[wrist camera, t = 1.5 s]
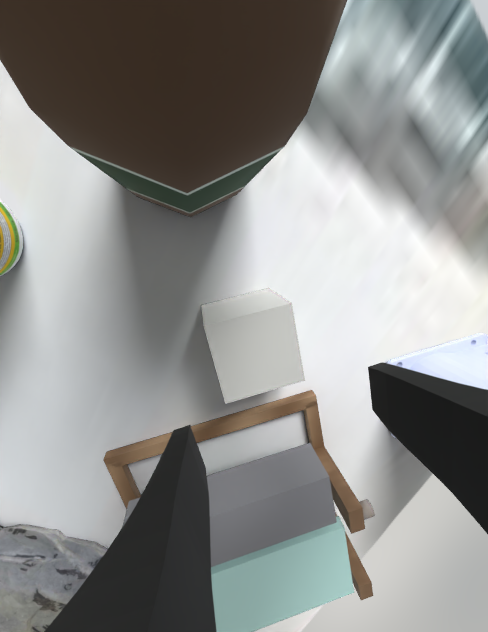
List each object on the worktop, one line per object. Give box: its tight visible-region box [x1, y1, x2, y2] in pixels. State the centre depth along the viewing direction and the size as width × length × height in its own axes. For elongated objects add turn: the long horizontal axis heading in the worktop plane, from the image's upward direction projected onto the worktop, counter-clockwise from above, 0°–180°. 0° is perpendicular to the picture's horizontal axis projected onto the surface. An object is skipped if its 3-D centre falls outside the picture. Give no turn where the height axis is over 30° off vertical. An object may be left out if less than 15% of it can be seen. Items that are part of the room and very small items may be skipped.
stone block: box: [201, 288, 305, 404], centre depth 18 cm, size 5×5×5 cm
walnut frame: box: [104, 390, 375, 600], centre depth 21 cm, size 18×14×6 cm
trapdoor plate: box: [122, 443, 354, 632], centre depth 20 cm, size 14×12×3 cm
